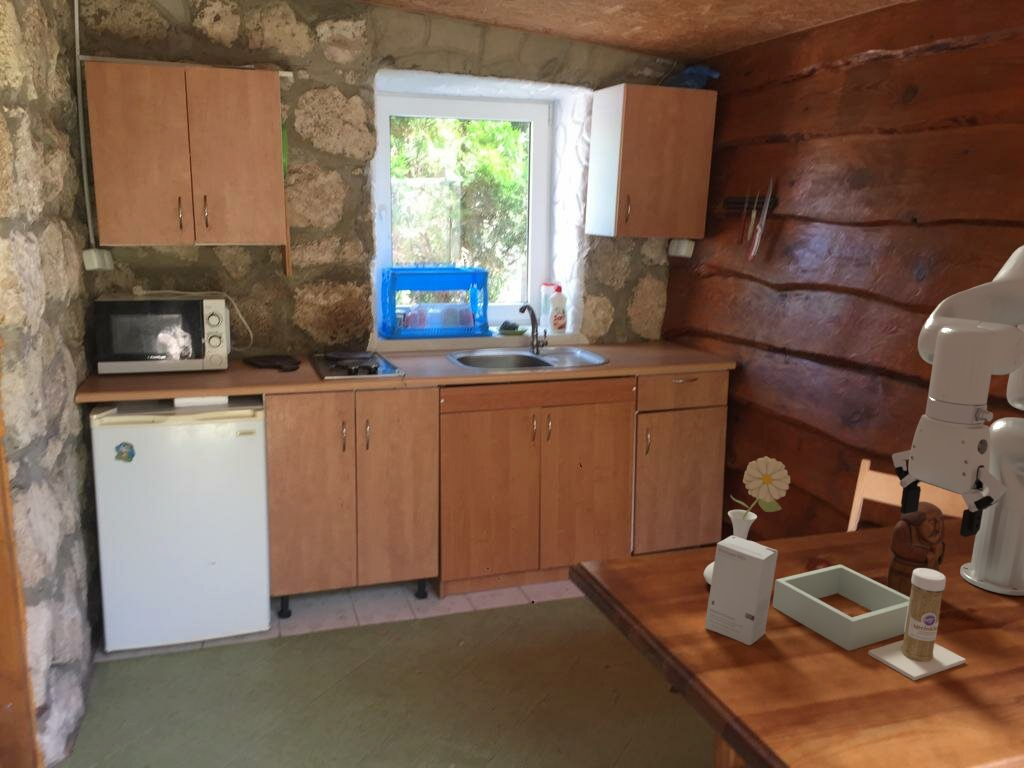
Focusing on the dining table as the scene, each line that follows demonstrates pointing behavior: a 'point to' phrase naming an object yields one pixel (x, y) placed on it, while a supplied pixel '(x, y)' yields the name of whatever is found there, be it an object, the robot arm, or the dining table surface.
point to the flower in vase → (757, 496)
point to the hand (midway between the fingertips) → (937, 523)
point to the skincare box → (741, 589)
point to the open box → (848, 632)
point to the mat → (913, 667)
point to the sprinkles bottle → (923, 613)
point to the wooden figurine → (916, 545)
